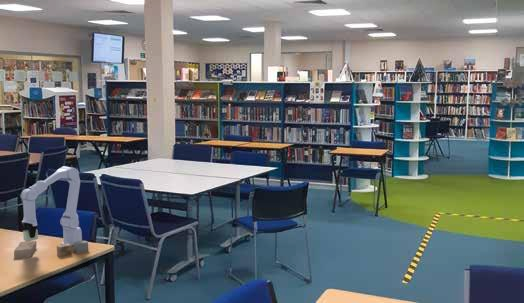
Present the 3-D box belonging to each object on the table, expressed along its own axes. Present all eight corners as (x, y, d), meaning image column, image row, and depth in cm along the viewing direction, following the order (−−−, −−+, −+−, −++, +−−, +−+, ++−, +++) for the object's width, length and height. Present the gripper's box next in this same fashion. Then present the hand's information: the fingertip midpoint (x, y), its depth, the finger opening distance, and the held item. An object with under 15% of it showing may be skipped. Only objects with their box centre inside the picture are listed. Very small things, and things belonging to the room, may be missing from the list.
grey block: (85, 249, 282) (84, 240, 281) (88, 251, 279) (88, 242, 278) (74, 251, 278) (74, 242, 277) (77, 253, 275) (77, 244, 274)
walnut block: (68, 252, 277) (67, 243, 276) (71, 254, 274) (71, 245, 273) (57, 254, 272) (56, 245, 272) (60, 256, 270) (59, 247, 269)
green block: (35, 237, 276) (34, 228, 275) (38, 239, 273) (37, 230, 272) (23, 239, 272) (23, 230, 271) (26, 241, 269) (25, 232, 268)
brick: (30, 257, 268) (30, 249, 267) (13, 258, 266) (13, 250, 266) (37, 248, 284) (36, 240, 284) (20, 249, 282) (20, 241, 282)
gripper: (16, 210, 273) (18, 235, 274) (26, 215, 262) (27, 241, 264) (30, 208, 278) (31, 232, 279) (40, 213, 267) (41, 238, 269)
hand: (30, 236), depth 272 cm, fingers closed on green block, 4 cm apart
